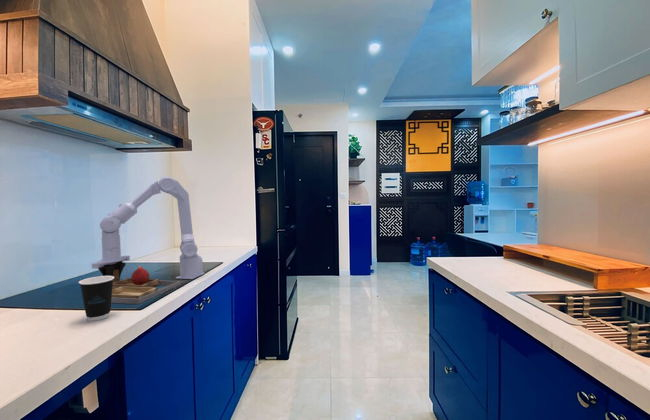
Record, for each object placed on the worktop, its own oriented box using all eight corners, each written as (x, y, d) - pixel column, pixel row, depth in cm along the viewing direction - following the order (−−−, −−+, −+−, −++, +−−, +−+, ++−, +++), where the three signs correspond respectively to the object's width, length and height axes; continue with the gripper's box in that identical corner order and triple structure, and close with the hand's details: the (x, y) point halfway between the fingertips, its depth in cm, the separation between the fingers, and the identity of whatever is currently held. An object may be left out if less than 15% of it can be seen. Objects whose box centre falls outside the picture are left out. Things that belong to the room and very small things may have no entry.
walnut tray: (119, 283, 115) (118, 267, 114) (159, 284, 112) (158, 268, 112) (99, 290, 106) (98, 272, 106) (141, 291, 103) (141, 274, 103)
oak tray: (113, 291, 104) (112, 274, 103) (157, 293, 101) (156, 275, 101) (90, 300, 95) (89, 280, 95) (137, 302, 92) (137, 282, 92)
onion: (143, 289, 105) (142, 267, 105) (127, 289, 105) (127, 268, 105) (152, 284, 111) (152, 264, 111) (138, 284, 111) (137, 264, 111)
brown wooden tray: (146, 283, 114) (146, 279, 114) (180, 285, 112) (180, 281, 111) (97, 302, 94) (97, 297, 94) (138, 304, 91) (138, 299, 91)
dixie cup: (104, 310, 86) (103, 274, 86) (122, 313, 83) (120, 276, 83) (73, 320, 79) (72, 281, 78) (91, 325, 76) (90, 284, 76)
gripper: (118, 244, 117) (120, 277, 118) (83, 251, 103) (85, 288, 104) (133, 245, 116) (134, 277, 117) (100, 251, 102) (102, 288, 103)
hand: (112, 282), depth 110 cm, fingers closed on walnut tray, 2 cm apart
